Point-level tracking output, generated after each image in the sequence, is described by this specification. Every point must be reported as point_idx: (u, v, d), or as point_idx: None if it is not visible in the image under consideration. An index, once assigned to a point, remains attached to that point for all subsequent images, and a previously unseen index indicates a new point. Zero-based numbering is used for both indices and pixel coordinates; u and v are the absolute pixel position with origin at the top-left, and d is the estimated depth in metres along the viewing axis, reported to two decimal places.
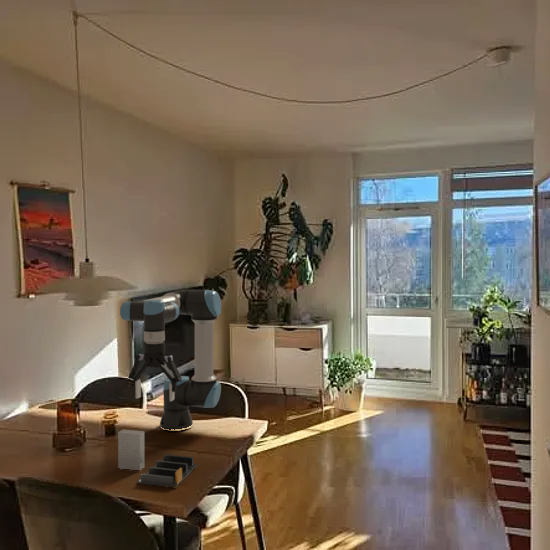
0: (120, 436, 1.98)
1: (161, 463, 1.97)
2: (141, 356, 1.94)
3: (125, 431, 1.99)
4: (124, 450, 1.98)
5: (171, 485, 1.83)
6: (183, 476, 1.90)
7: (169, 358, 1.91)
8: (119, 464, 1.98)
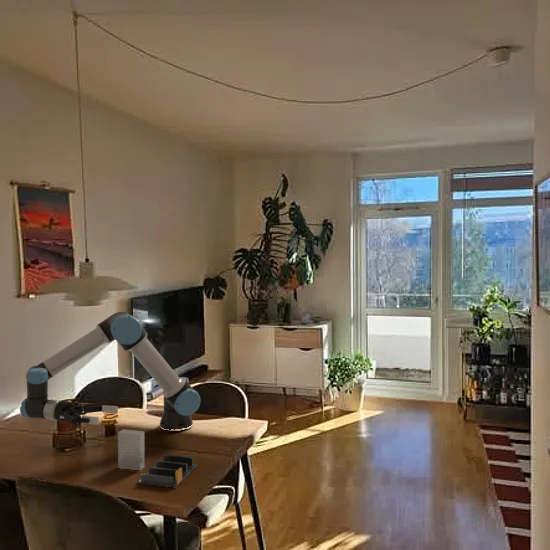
0: (120, 436, 1.98)
1: (161, 463, 1.97)
2: None
3: (125, 431, 1.99)
4: (124, 450, 1.98)
5: (171, 485, 1.83)
6: (183, 476, 1.90)
7: (61, 420, 1.98)
8: (119, 464, 1.98)
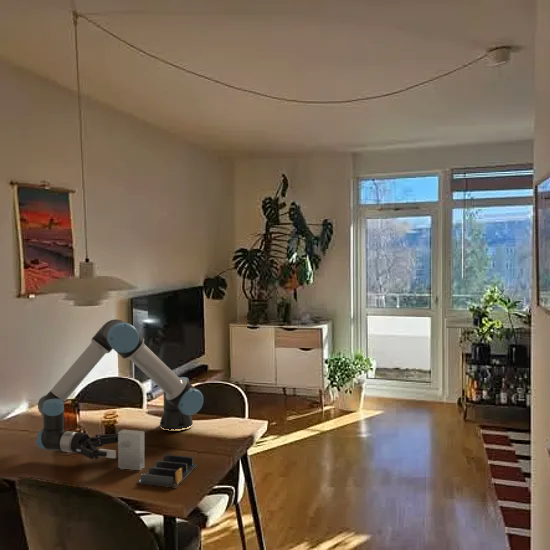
0: (120, 436, 1.98)
1: (161, 463, 1.97)
2: None
3: (125, 431, 1.99)
4: (124, 450, 1.98)
5: (171, 485, 1.83)
6: (183, 476, 1.90)
7: None
8: (119, 464, 1.98)
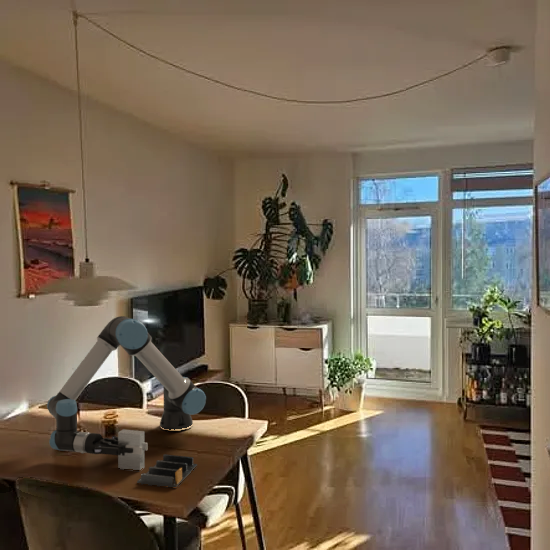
0: (120, 436, 1.98)
1: (161, 463, 1.97)
2: None
3: (125, 431, 1.99)
4: None
5: (171, 485, 1.83)
6: (183, 476, 1.90)
7: (97, 453, 1.95)
8: (119, 464, 1.98)
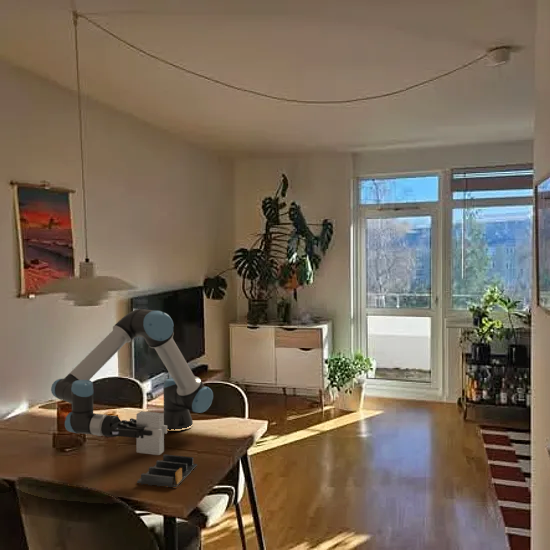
0: (138, 418, 1.88)
1: (161, 463, 1.97)
2: None
3: (144, 413, 1.89)
4: None
5: (171, 485, 1.83)
6: (183, 476, 1.90)
7: None
8: (137, 447, 1.89)
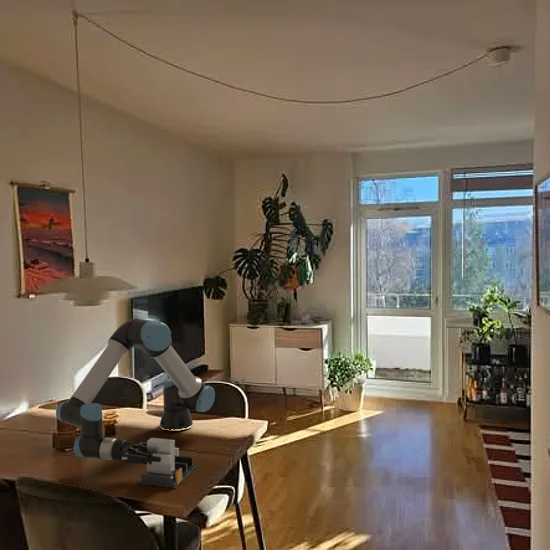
0: (149, 445, 1.86)
1: None
2: None
3: (154, 440, 1.88)
4: None
5: (171, 485, 1.83)
6: (183, 476, 1.90)
7: None
8: None
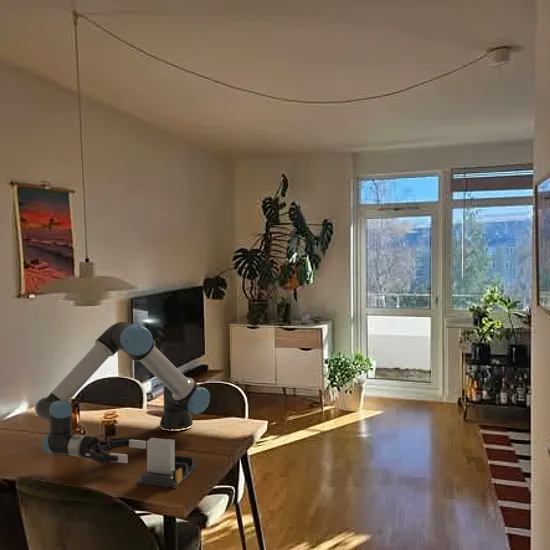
0: (149, 445, 1.86)
1: None
2: None
3: (154, 440, 1.88)
4: (154, 460, 1.86)
5: (171, 485, 1.83)
6: (183, 476, 1.90)
7: None
8: None
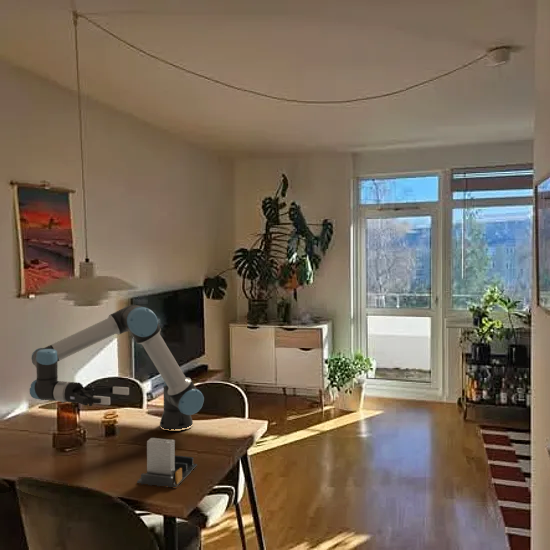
0: (149, 445, 1.86)
1: None
2: None
3: (154, 440, 1.88)
4: (154, 460, 1.86)
5: (171, 485, 1.83)
6: (183, 476, 1.90)
7: (71, 400, 1.94)
8: None
